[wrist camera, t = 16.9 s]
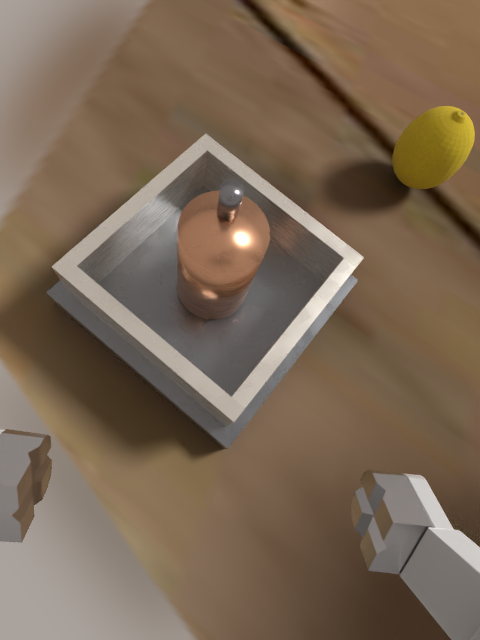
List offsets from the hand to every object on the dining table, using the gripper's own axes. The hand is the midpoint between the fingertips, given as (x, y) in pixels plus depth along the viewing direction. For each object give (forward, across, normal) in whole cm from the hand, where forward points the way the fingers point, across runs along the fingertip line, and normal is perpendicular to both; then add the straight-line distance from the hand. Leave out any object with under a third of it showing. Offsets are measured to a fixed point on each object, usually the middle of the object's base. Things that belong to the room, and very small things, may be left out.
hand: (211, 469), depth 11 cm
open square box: (+21, 0, +4) cm, 22 cm away
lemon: (+32, -16, -6) cm, 36 cm away
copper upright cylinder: (+20, 0, +3) cm, 20 cm away
